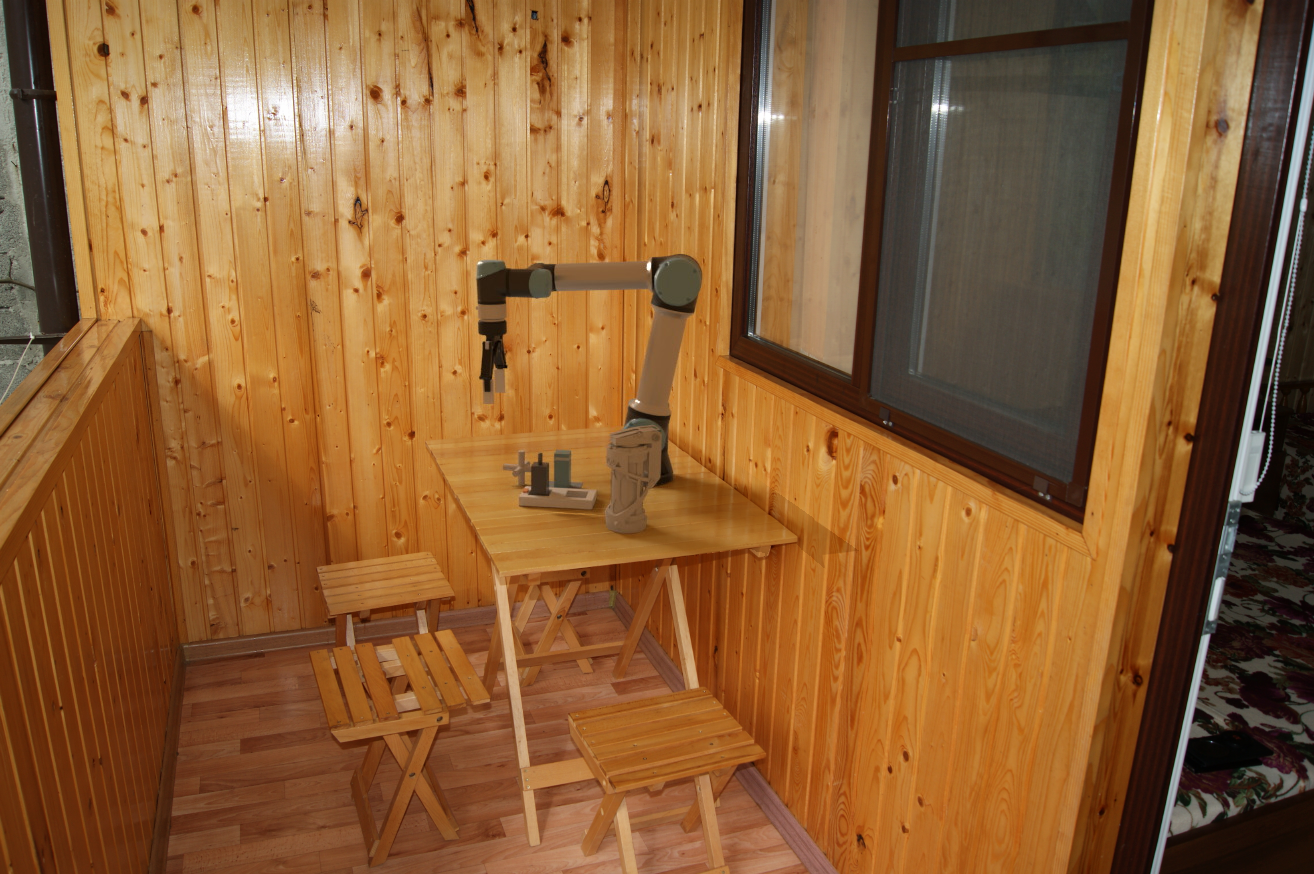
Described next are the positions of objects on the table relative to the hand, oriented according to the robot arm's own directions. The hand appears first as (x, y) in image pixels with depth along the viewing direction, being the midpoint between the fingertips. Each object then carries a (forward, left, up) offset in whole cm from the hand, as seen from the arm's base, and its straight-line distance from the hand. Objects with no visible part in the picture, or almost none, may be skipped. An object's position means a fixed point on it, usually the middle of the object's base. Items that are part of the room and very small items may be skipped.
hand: (494, 398), depth 280 cm
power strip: (-20, +14, -25) cm, 34 cm away
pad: (-19, +1, -25) cm, 31 cm away
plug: (-19, +1, -24) cm, 31 cm away
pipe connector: (-7, 0, -25) cm, 26 cm away
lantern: (-40, +27, -25) cm, 54 cm away
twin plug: (-15, +14, -25) cm, 32 cm away
